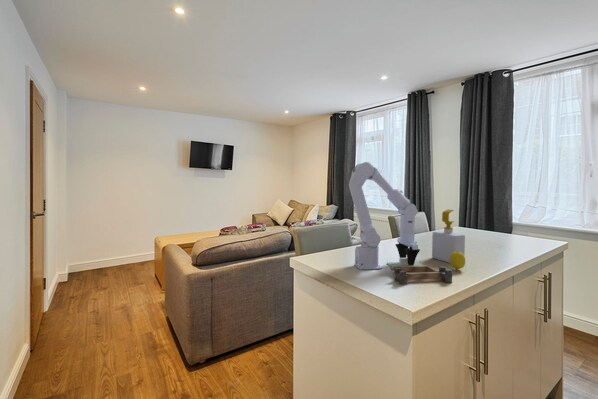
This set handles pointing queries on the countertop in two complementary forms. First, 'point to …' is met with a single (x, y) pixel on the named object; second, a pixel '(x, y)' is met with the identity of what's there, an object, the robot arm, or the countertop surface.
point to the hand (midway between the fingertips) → (406, 262)
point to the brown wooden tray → (421, 274)
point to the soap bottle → (447, 240)
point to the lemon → (457, 260)
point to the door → (402, 263)
